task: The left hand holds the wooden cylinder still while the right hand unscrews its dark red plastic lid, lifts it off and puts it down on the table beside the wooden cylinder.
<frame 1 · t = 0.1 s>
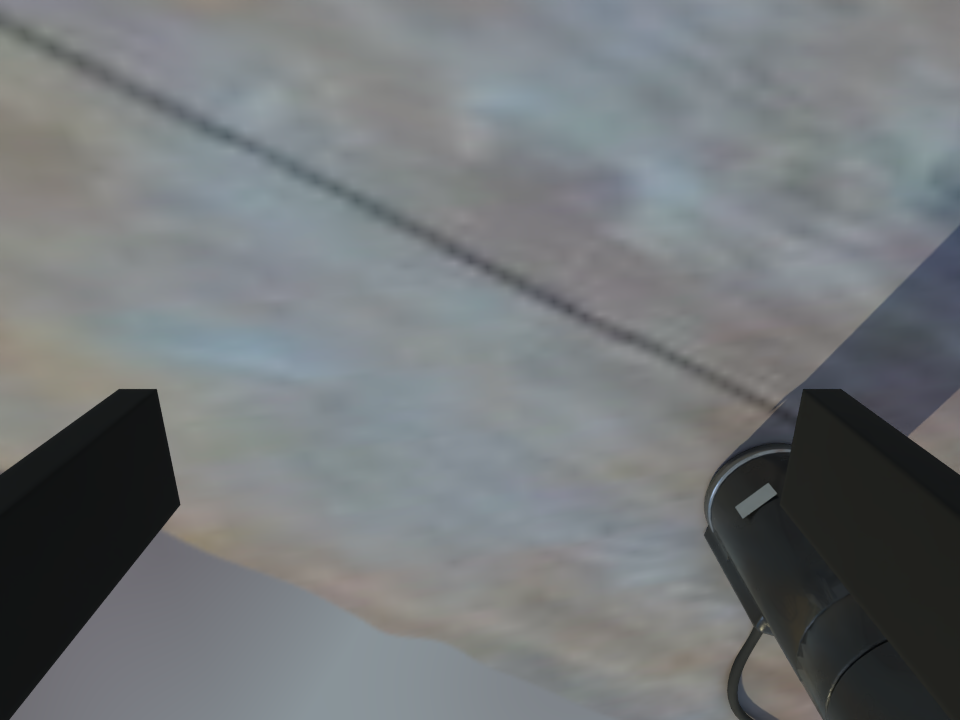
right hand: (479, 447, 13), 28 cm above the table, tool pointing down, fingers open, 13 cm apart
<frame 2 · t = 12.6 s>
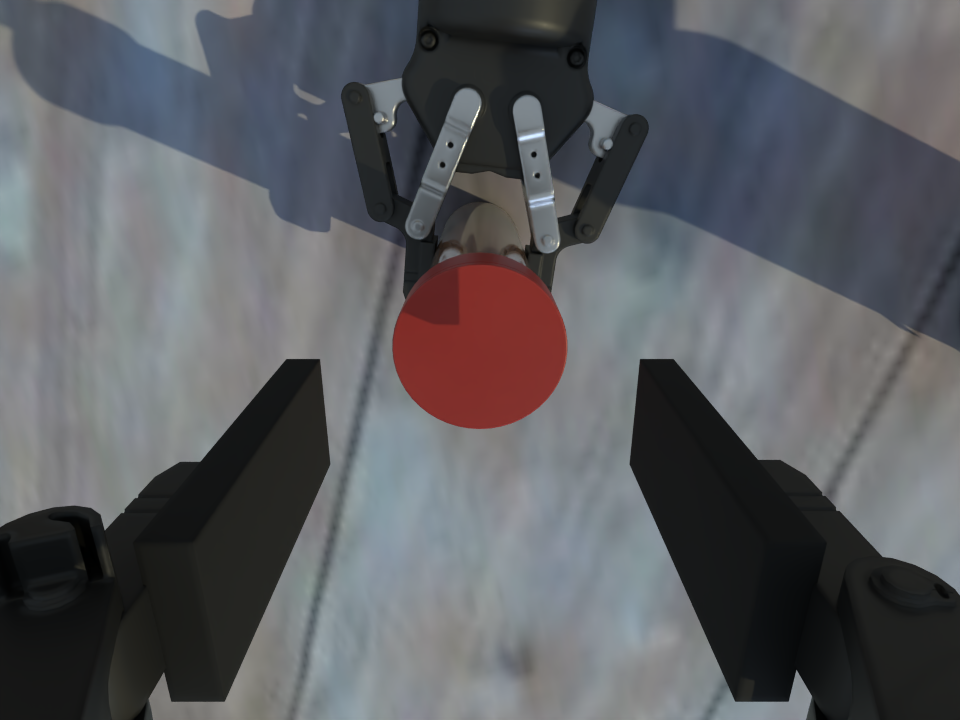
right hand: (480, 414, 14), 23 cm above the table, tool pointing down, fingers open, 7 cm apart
left hand: (473, 315, 31), fingers closed on wooden cylinder, 4 cm apart
lid: (479, 347, 19), point 19 cm above the table, screwed on, not yet turned
wooden cylinder: (479, 240, 36), on the table, touching left hand
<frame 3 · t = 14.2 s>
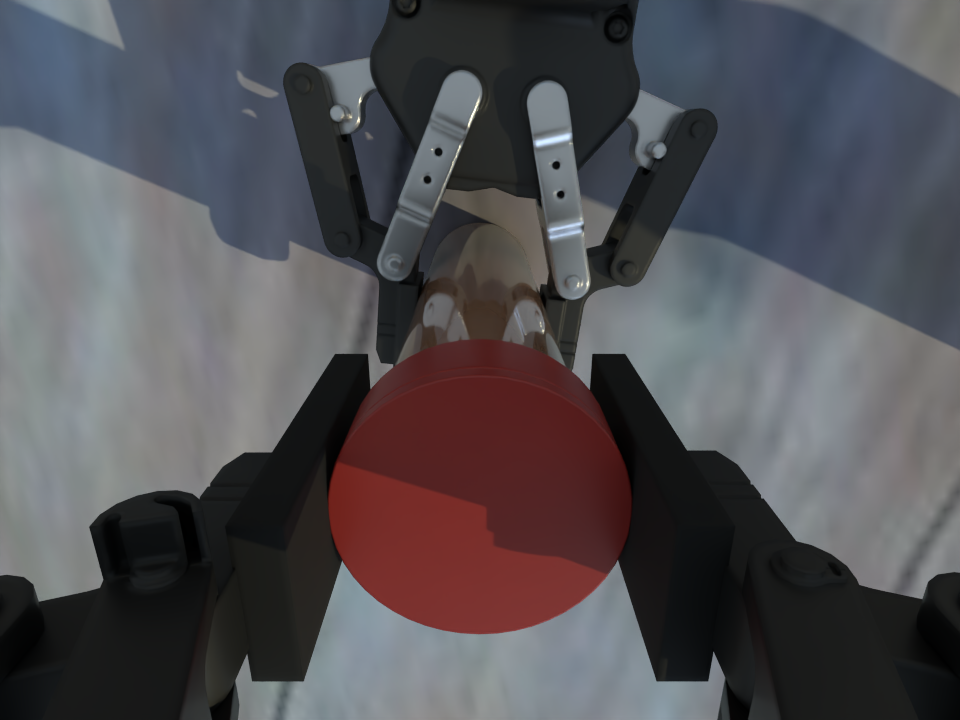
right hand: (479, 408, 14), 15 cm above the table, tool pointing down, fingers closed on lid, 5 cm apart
left hand: (471, 377, 23), fingers closed on wooden cylinder, 4 cm apart
lid: (479, 504, 11), point 19 cm above the table, screwed on, not yet turned, touching right hand
wooden cylinder: (479, 270, 28), on the table, touching left hand
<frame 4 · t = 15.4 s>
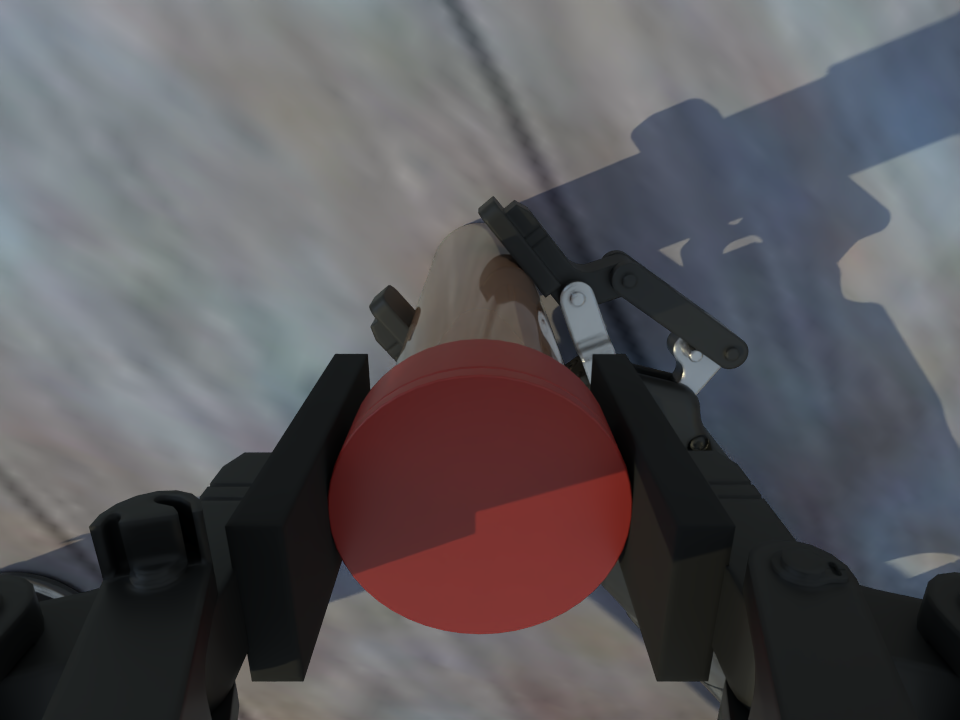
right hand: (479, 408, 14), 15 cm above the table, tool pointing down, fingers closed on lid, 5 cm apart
lid: (480, 504, 11), point 19 cm above the table, off its thread, touching right hand
wooden cylinder: (480, 270, 29), on the table, touching left hand
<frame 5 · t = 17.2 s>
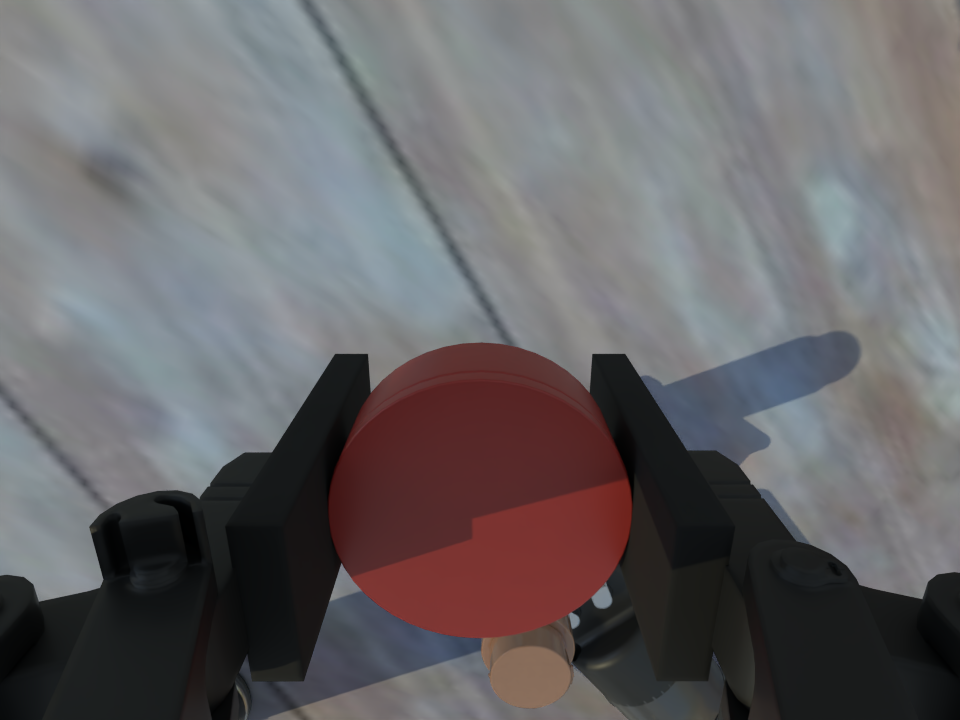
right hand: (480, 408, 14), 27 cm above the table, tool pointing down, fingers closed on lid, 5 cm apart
lid: (480, 509, 11), point 31 cm above the table, off its thread, touching right hand
wooden cylinder: (511, 469, 45), on the table, touching left hand
when the right hand's fingers open (0 cm above the table, at t = 21.4 s): lid drops 3 cm, point 1 cm above the table.
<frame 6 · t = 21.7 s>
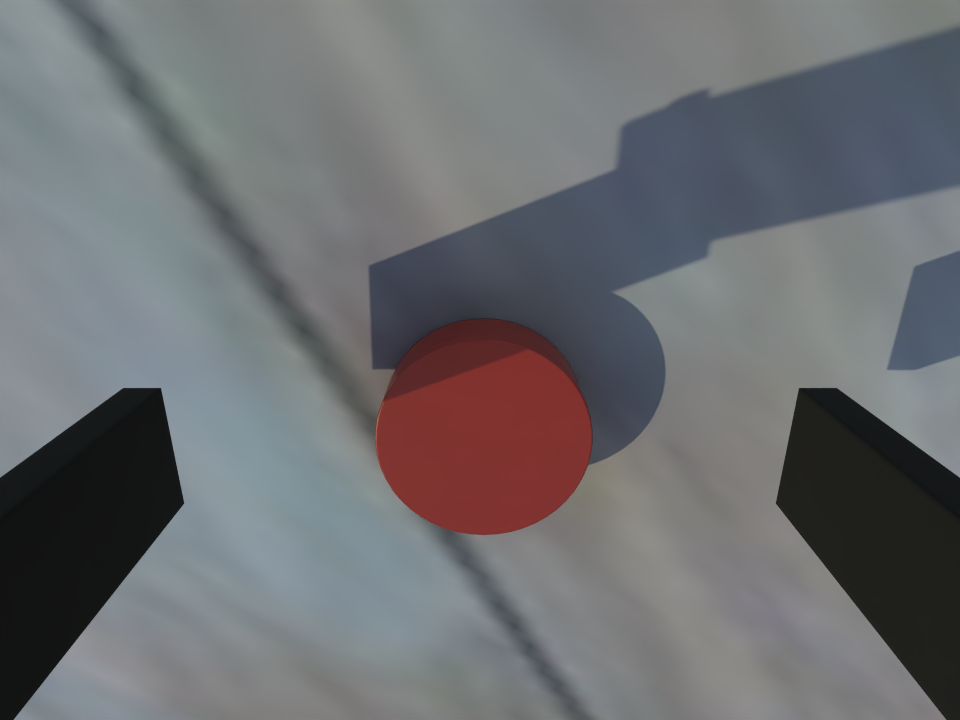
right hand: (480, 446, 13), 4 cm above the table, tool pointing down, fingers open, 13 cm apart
lid: (483, 436, 15), point 1 cm above the table, off its thread
when the left hand's fingers open (7 cm above the table, at t = 22.0 s): wooden cylinder stays where it is, on the table.
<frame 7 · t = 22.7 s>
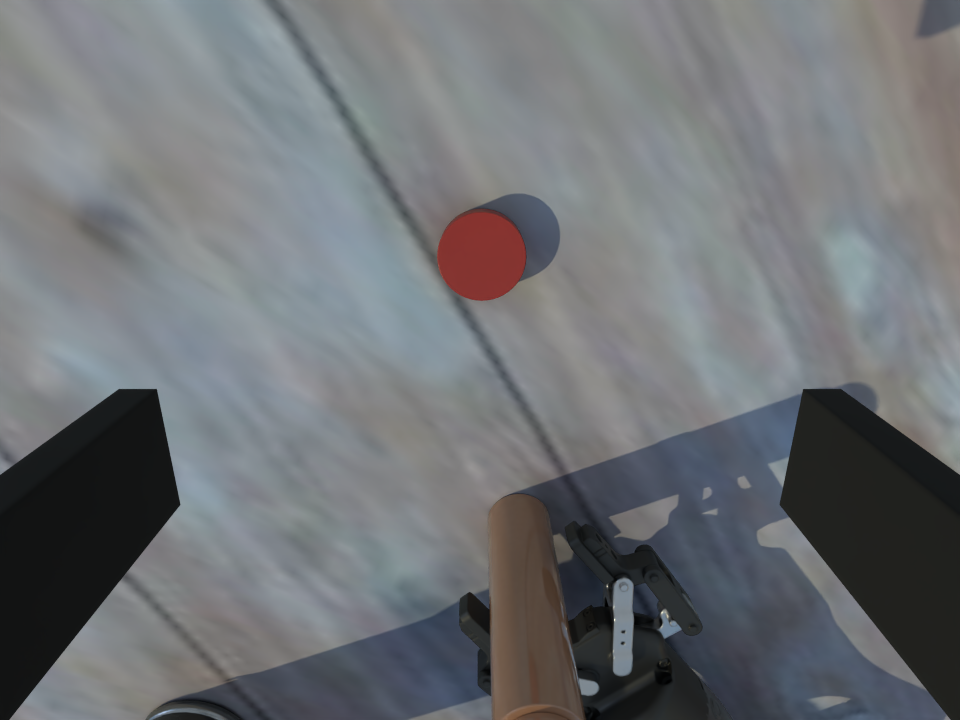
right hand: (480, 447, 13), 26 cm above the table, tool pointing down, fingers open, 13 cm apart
lid: (481, 256, 36), point 1 cm above the table, off its thread
wooden cylinder: (518, 519, 44), on the table
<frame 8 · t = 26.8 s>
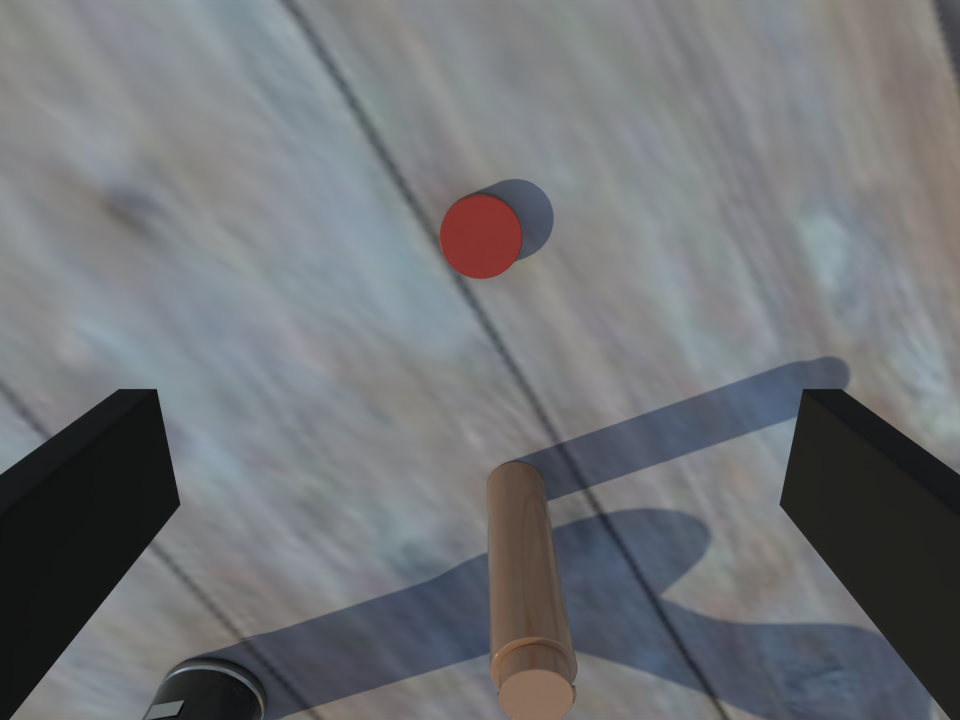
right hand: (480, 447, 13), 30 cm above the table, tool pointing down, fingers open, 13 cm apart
lid: (480, 237, 39), point 1 cm above the table, off its thread
wooden cylinder: (515, 486, 47), on the table
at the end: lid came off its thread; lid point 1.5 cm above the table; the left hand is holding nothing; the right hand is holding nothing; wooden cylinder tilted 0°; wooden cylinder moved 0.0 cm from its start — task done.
